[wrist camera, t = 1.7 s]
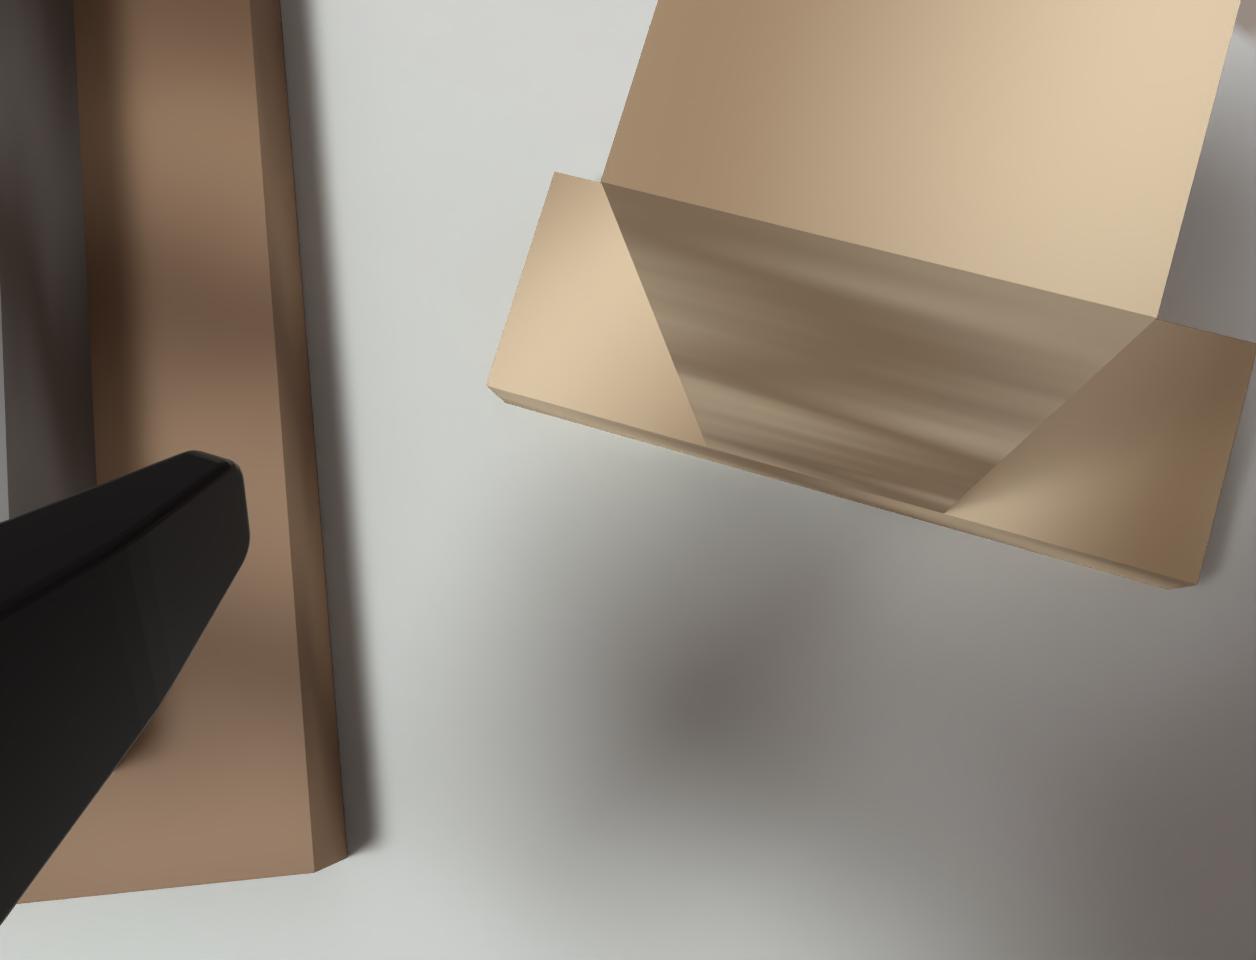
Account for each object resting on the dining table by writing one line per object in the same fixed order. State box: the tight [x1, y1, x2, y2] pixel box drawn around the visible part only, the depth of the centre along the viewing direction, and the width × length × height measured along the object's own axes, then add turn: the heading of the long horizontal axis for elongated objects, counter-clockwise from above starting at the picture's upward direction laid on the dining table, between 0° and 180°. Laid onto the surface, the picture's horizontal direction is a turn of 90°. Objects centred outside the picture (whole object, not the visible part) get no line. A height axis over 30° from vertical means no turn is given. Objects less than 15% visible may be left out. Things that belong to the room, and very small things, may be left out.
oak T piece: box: [486, 0, 1256, 589], centre depth 15 cm, size 12×4×13 cm, turn 73°
